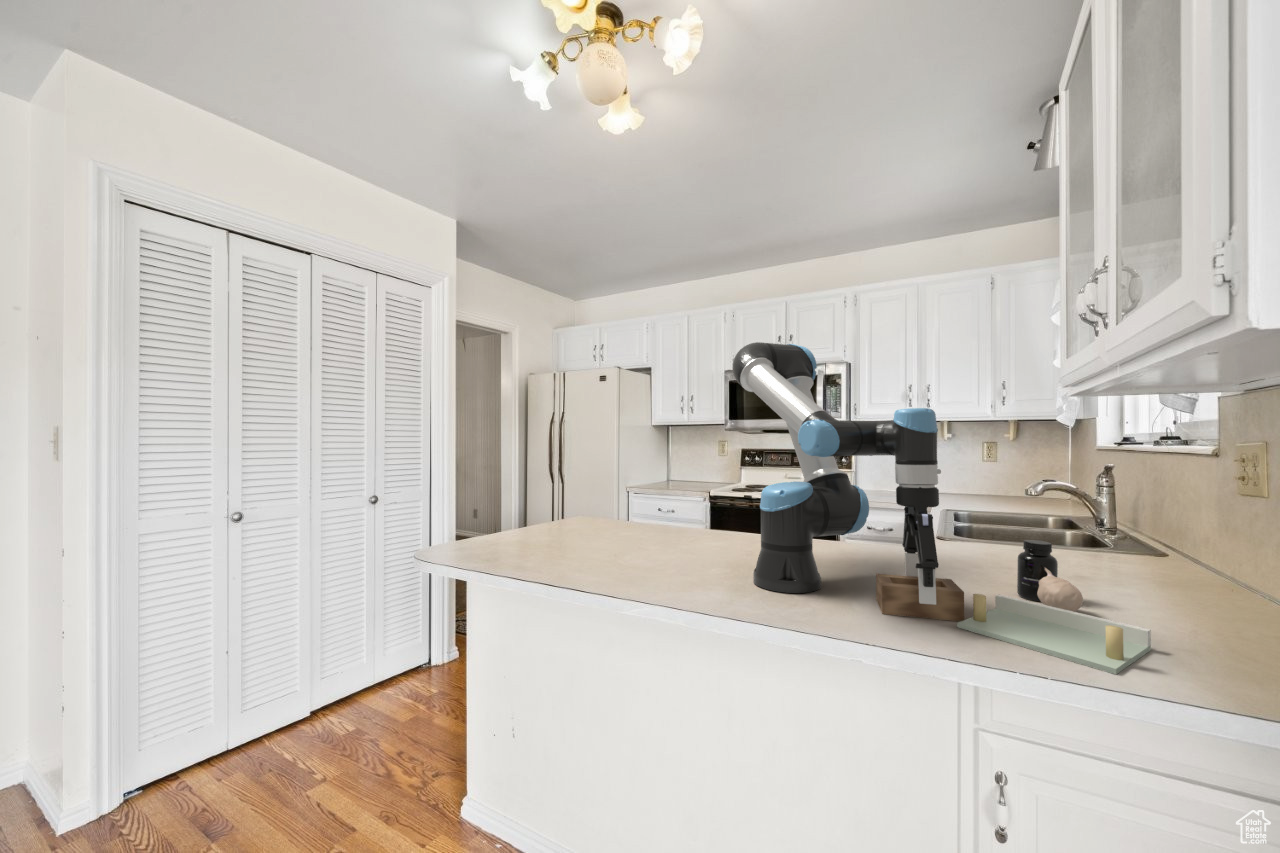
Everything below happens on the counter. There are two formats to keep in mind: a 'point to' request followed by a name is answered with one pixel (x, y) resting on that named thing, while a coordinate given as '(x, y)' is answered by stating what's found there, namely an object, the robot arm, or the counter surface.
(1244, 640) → the counter surface
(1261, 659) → the counter surface
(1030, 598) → the supplement bottle
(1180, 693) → the counter surface
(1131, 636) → the wall board
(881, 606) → the wooden box
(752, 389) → the robot arm
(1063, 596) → the garlic bulb
